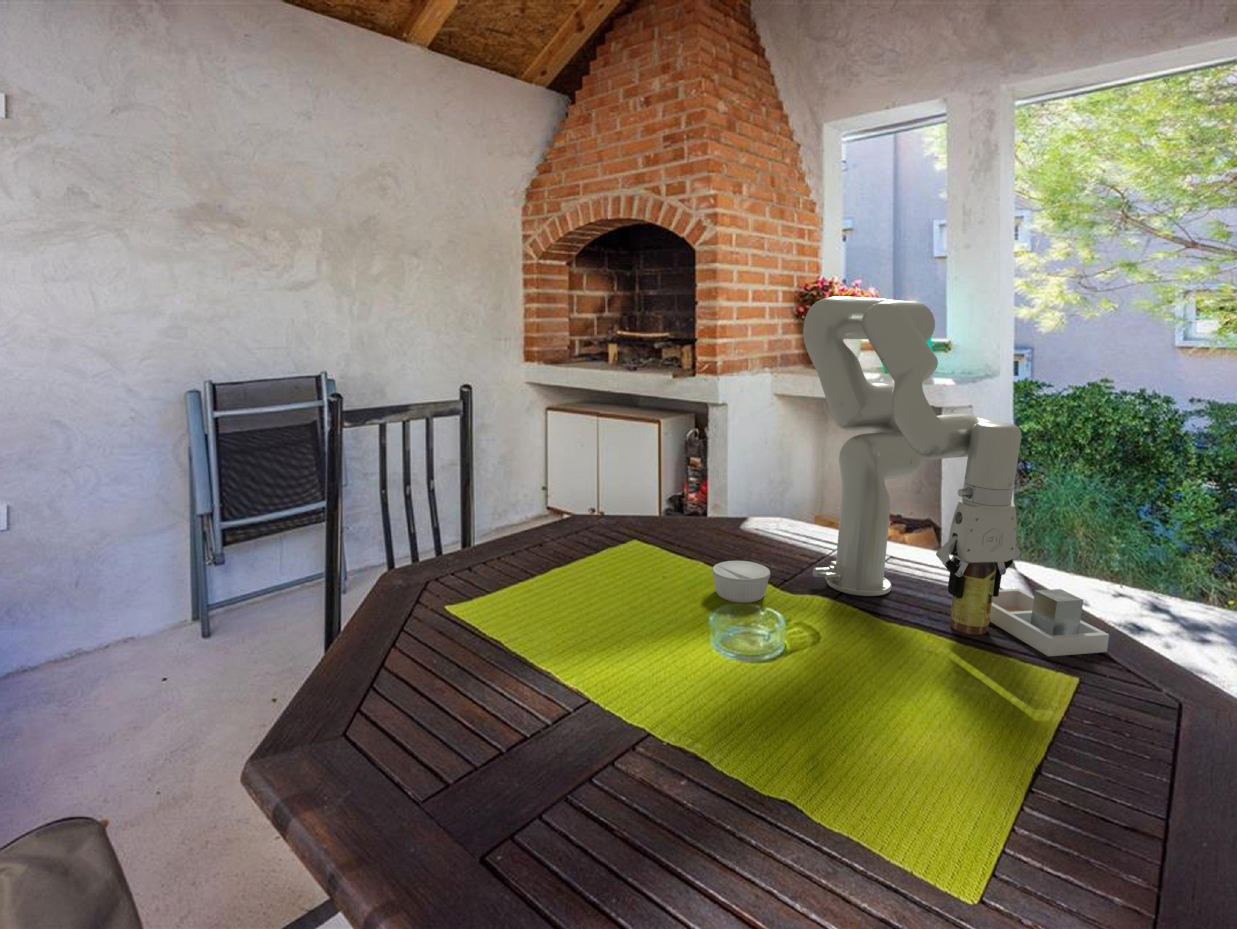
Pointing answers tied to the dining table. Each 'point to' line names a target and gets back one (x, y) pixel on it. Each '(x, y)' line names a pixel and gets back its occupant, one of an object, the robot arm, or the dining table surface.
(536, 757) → the dining table surface
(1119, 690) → the dining table surface
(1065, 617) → the grey metal block
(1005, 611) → the divided bay tray
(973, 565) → the sauce bottle
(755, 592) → the ramekin
